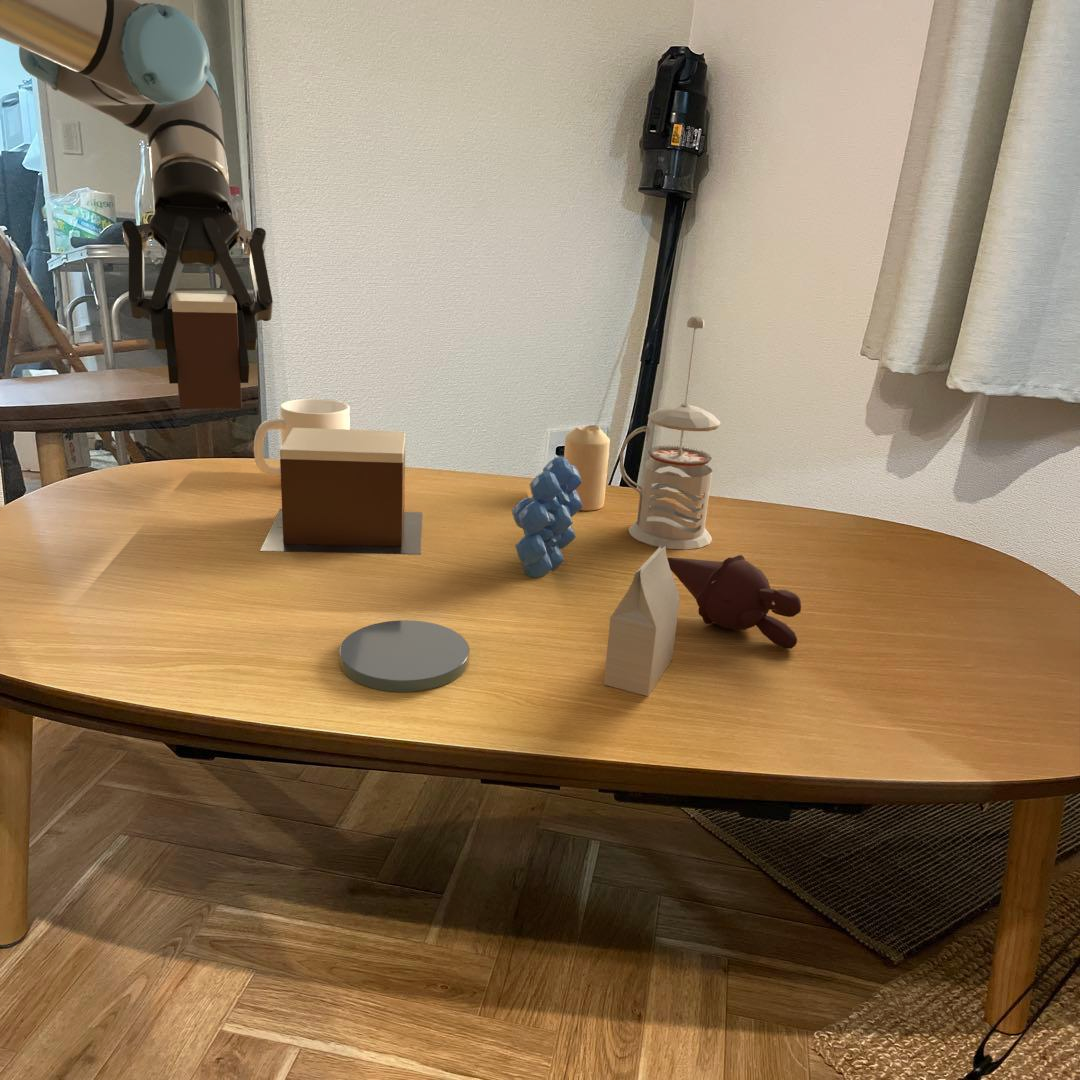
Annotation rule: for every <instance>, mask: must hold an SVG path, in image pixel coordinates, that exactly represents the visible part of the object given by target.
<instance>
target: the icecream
mask: <svg viewBox="0 0 1080 1080" xmlns="http://www.w3.org/2000/svg"><path fill="white" fill-rule="evenodd" d="M667 559H668V563H669V566H670V569H671V572H672V574H674V575H675V576H676V578H677V579H678V580H679V581H680V582H681V584H682V585H683V586H684V587H685V588H686V589H687V591H688V592H689V593H690V594H691V596H692V597H693V598H694V599H695V602H696V604H697V606H698V615H699V616H700V617H701V618H702V621H703V622H704V624H706V625H711V624H715V625H717V626H719V627H722V628H723V629H729V630H737V631H738V630H740V631H742V630H747V629H750V628H753V627H756V628H758V630H759V631H760V632H761V633H762V635H764V636H765V637H766V638H767V639H768V640H769V641H771V642H772V643H773V644H774V645H776V646H778V647H781V648H783V649H785V650H790V649H791V650H792V649H793V648H794V647H796V645H797V644H798V637H797V634H796V633H795V631H793V629H792V628H791V627H790V626H789V625H788V624H787V623H785V622H783V621H781V620H779V619H778V618H775V617H773V616H770V615H767V614H768V613H769V612H770V611H771V612H772V613H773V614H775V615H778V616H781V617H787V618H793V617H795V616H797V615H798V614H799V613H801V610H802V602H801V597H799V595H798V594H796V593H795V592H792V591H790V590H787V589H774V588H771V584H770V582H769V579H768V578H767V576H766V575H765V574H764V573H765V572H763V571H762V570H761V569H760V568H759V567H757V566H755V565H753V564H752V563H751V562H750V561H748V560H746V559H745V557H744V556H743V554H742V555H741V554H739V555H736V556H733V557H727V558H725V559H723V561H719V560H718V561H717V560H706V559H696V558H695V559H694V558H682V557H672V556H671V557H669V556H667Z"/></svg>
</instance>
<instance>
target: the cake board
mask: <svg viewBox="0 0 1080 1080" xmlns="http://www.w3.org/2000/svg"><path fill="white" fill-rule="evenodd" d="M422 533H423V512H422V511H404V527H403V538H402V546H360V545H311V544H283V523H282V508H280V509H279V511H278V513H277V515H276V517H275V518H274V521H273V523H272V525H271V527H270V529H269V531H268V533H267V535H266V537H265V540H264V541H263V543H262V545H261V548H260V550H259V552H265V553H266V552H269V553H319V554H321V553H322V554H323V553H324V554H369V555H370V554H371V555H373V554H375V555H422V536H423V535H422Z"/></svg>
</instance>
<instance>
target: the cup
mask: <svg viewBox="0 0 1080 1080" xmlns="http://www.w3.org/2000/svg"><path fill="white" fill-rule="evenodd" d="M350 408H351V407H350V405H349V404H348V403H346V402H344V401H339V400H334V399H326V398H301V399H300V398H299V399H293V400H287V401H285V402H282V403H281V404H280V406H279V412H280V413H279V414H280V418H272V419H267V420H264V421H263V422H261V423H260V424H259V426H258V428H257V429H256V432H255V435H254V441H253V456H254V461H255V464H256V467H257V468H258V469H259V471H260V472H261V473H262V474H264V475H266V476H268V477H272V478H281V471H280V466H270V465H269V464H268V463H267V462H266V460H265V456H264V441H265V438H266V434H267V433H268V432H269V431H272V430H280V437H281V439H280V440H281V446H282V445H283V444H284V442H285V440H286V439H287V437H288V435H289V434H290V432H291V430H292V429H293V428H318V429H346V430H351V417H350V416H351V415H350V410H351V409H350Z"/></svg>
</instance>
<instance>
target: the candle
mask: <svg viewBox="0 0 1080 1080" xmlns="http://www.w3.org/2000/svg"><path fill="white" fill-rule="evenodd" d="M610 445H611V439H610V438H609V437H608V436H607V434H606V433H605V432H604V431H603V430H602V429H601V428H600V426H599V425H596V424H591V425H587V426H584V427H579V426H577V427H575V428H574V429H573V430H571V431H569V433H567V434H566V435H565V438H564V451H563V457H564V458H565V459H567V460H568V462H569V464H572V465H574V466H575V467H576V468H577V470H578V472H579V474H580V477H581V480H582V483H581V484H580V485H579V486H578V487H577V488H576V489H575V491H577V493H578V495H579V496H580V499H581V502H582V506H583V507H582V508H581V509H580V510H579V511H596V510H597V511H598V510H600V509H602V508H603V507H604V505H605V498H606V488H607V487H606V486H607V475H608V467H609V456H610Z"/></svg>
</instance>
